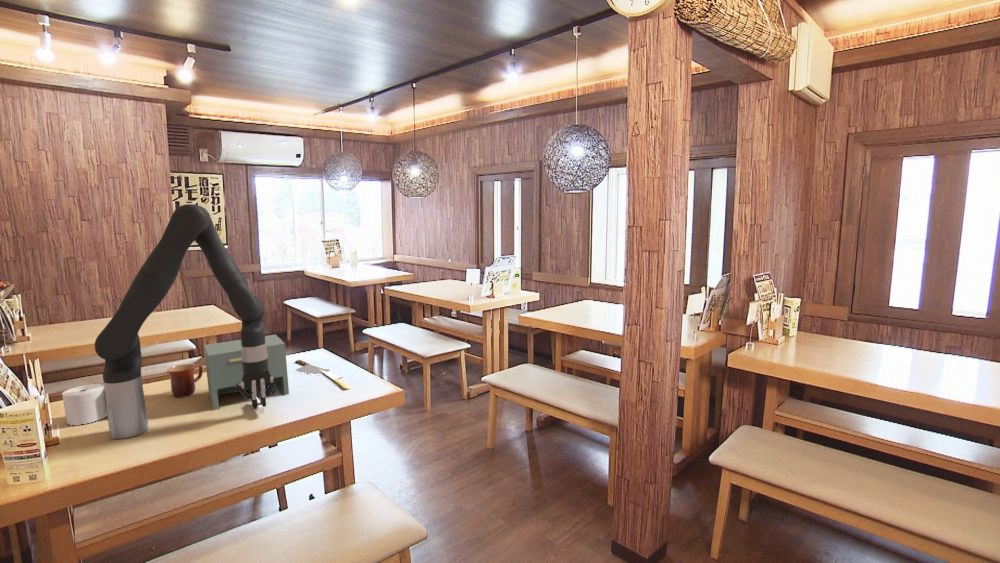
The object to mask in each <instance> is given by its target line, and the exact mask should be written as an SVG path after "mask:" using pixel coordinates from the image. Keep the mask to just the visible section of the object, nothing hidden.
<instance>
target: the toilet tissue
mask: <svg viewBox="0 0 1000 563" xmlns="http://www.w3.org/2000/svg"><path fill="white" fill-rule="evenodd" d="M61 394H62V396H61V397H62V400H63V407H64V416H65V422H66V424H67V425H68V424H69V425H68V426H72V425H74V426H82V425H81V424H84V425H88V424H87V423H89V424H92V423H91V422H93V423H94V421H96V422H98V421H97V420H99V421H101V420H103V419H105V418H106V417H105V416H107V402H106V395H105V388H104V384H101V383H98V384H97V383H94V384H85V385H81V386H80V385H79V386H76V387H73V388H72V387H71V388H69V389H66V390H65V391H63V392H62V393H61ZM104 417H105V418H104ZM107 417H108V416H107ZM102 418H103V419H102ZM100 419H101V420H100Z"/></svg>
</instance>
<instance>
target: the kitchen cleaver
mask: <svg viewBox="0 0 1000 563" xmlns="http://www.w3.org/2000/svg"><path fill="white" fill-rule="evenodd" d="M295 364H298V365H300V367H299V368H296V369H295V371H296V372H299V373H302V372H304V373H303V374H305V372H306V373H310V374H311V373H313V374H318V373H319V374H322V375H324V374H323V372H321V371H320V370H322V371H325V372H329V371H330V370H331V369H329V368H327V369H323V368H321V367H318V366H315V365H313V364H311V363H308V362H306V361H303V360H301V359H297V360H295ZM302 365H303V366H302ZM319 369H320V370H319Z"/></svg>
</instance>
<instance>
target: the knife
mask: <svg viewBox="0 0 1000 563" xmlns="http://www.w3.org/2000/svg"><path fill="white" fill-rule="evenodd" d="M319 370H320V369H319ZM320 371H321V372H323V373H324V374H323V375H325V376H327V377H329V378H330V379H332V380H333V381H334V382H335V383H336V384H337V385H339V386H340V387H342V388H343V389H344V390H348V389H350V388H352V387H351V385H347V384H346V383H344V382H343V381H341V380H339V379H341V377H342V376H341V377H339V376H337V375H335V374H332V373H331V372H325V371H322V370H320Z"/></svg>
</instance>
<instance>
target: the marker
mask: <svg viewBox="0 0 1000 563" xmlns="http://www.w3.org/2000/svg"><path fill="white" fill-rule="evenodd" d="M256 399H257V404H258V406H257V408H256V410H255V411H256V412H257V413H258V414H259V415H262V414H264V413H265V411H266V407H263V406H262V405H261V403H260V398H258V397H257V396H256ZM250 402H251V403H252V400H251V399H250Z"/></svg>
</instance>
